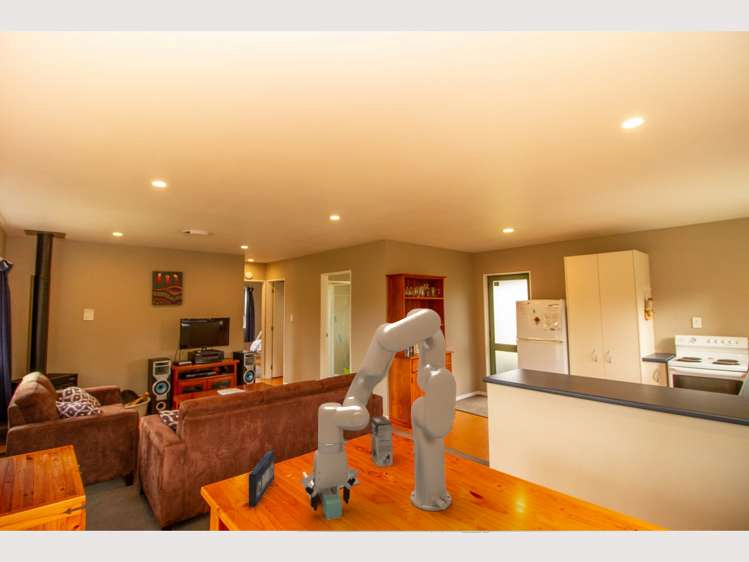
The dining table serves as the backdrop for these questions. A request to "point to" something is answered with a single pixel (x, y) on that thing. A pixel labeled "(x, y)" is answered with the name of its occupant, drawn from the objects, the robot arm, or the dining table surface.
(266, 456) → the vhs cassette tape
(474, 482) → the dining table surface
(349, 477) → the mat
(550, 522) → the dining table surface
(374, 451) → the coffee box
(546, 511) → the dining table surface
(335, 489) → the white box
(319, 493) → the rod
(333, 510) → the block
